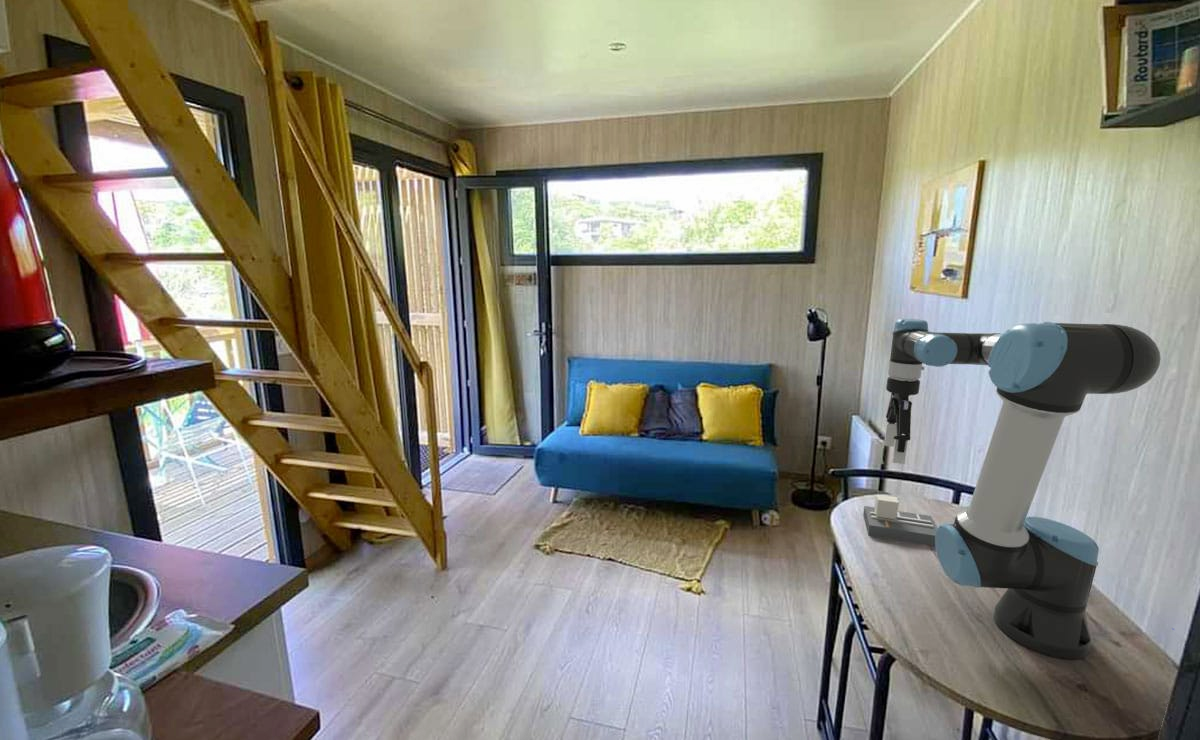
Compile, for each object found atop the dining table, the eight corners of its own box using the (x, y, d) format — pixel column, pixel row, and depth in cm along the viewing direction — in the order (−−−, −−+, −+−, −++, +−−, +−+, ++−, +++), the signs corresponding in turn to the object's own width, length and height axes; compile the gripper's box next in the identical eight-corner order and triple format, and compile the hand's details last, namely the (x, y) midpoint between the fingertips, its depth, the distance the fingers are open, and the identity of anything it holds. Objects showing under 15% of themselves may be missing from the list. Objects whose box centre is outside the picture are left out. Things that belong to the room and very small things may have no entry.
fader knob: (896, 521, 145) (898, 502, 144) (875, 518, 147) (878, 499, 146) (893, 515, 149) (896, 497, 148) (874, 512, 150) (876, 494, 149)
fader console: (939, 547, 139) (941, 535, 138) (868, 535, 145) (869, 523, 144) (929, 525, 150) (931, 514, 149) (863, 515, 156) (864, 504, 155)
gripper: (931, 390, 127) (919, 473, 131) (910, 369, 150) (900, 441, 154) (896, 387, 129) (885, 468, 133) (880, 367, 152) (872, 437, 156)
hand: (893, 454), depth 144 cm, fingers open, 13 cm apart
